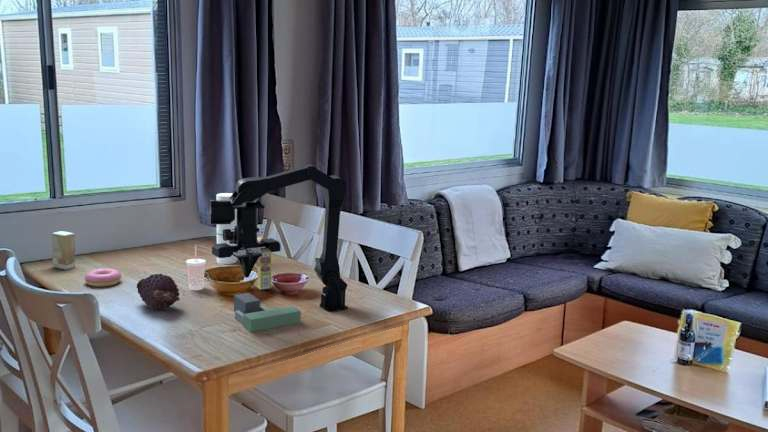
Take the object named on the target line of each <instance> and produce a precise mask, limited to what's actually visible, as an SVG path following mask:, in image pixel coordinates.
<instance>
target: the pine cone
mask: <svg viewBox="0 0 768 432" xmlns="http://www.w3.org/2000/svg"><path fill="white" fill-rule="evenodd" d="M136 288H137V294H139V297H140V298H141V301H142V302H144V304H145V305H146V306H147V307H149V308H151V309H156V310H159V309H161V310H166V309H169V308H170V307H171V306H173V305H174V304H175V303H176V302H178V301H180V300H181V298H180V293H179V290H180V289H179V288H178V285H177V284H176V283H175V280H173V278H172V277H171V276H170V275H167V274H163V273H155V274H150V275H149V276H148V277H146V278H141V280H139V281H138V282H137V283H136Z"/></svg>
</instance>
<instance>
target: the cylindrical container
mask: <svg viewBox="0 0 768 432" xmlns="http://www.w3.org/2000/svg"><path fill="white" fill-rule="evenodd" d="M232 194H233V192H232V193H231V192H230V193H229V192H222V193H217V194H216V199H215V200H229V198H230V197H231V195H232ZM235 226H237V209H235V220H234V221H233V222H231V224H217V225H216V244H221V243H226V244H228V245H230V246H236V245H237V244H229V240H228V241H224V240H223V230H224V229H231V232H232V231H234V228H235ZM237 260H238V259H237V257H235V256H233V255H232V256H231V257H227V258H218V257H217V256H216V262H217V264H220V265H231V264H235V263H237V262H238V261H237Z"/></svg>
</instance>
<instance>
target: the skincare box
mask: <svg viewBox="0 0 768 432" xmlns="http://www.w3.org/2000/svg"><path fill="white" fill-rule="evenodd" d="M75 235H76V234H75V233H74V232H70V231H64V230H61V231H54V232H52V233H51V245H52V246H51V247H52V248H51V249H52V268H57V269H61V270H70V269H73V268H75V267H76V241H75V239H76V236H75Z"/></svg>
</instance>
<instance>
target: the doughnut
mask: <svg viewBox="0 0 768 432" xmlns="http://www.w3.org/2000/svg"><path fill="white" fill-rule="evenodd" d="M121 278H122V274H121V272H120V270H117V269H116V268H115V269H114V268H97V269H96V268H95V269H91V270H89V271H88V272H86V274H85V276H84V281H85V283H86V284H87V285H89V286H90V287H96V288H102V287H111V286H114V285H116V284H118V283H120V282H121Z"/></svg>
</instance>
